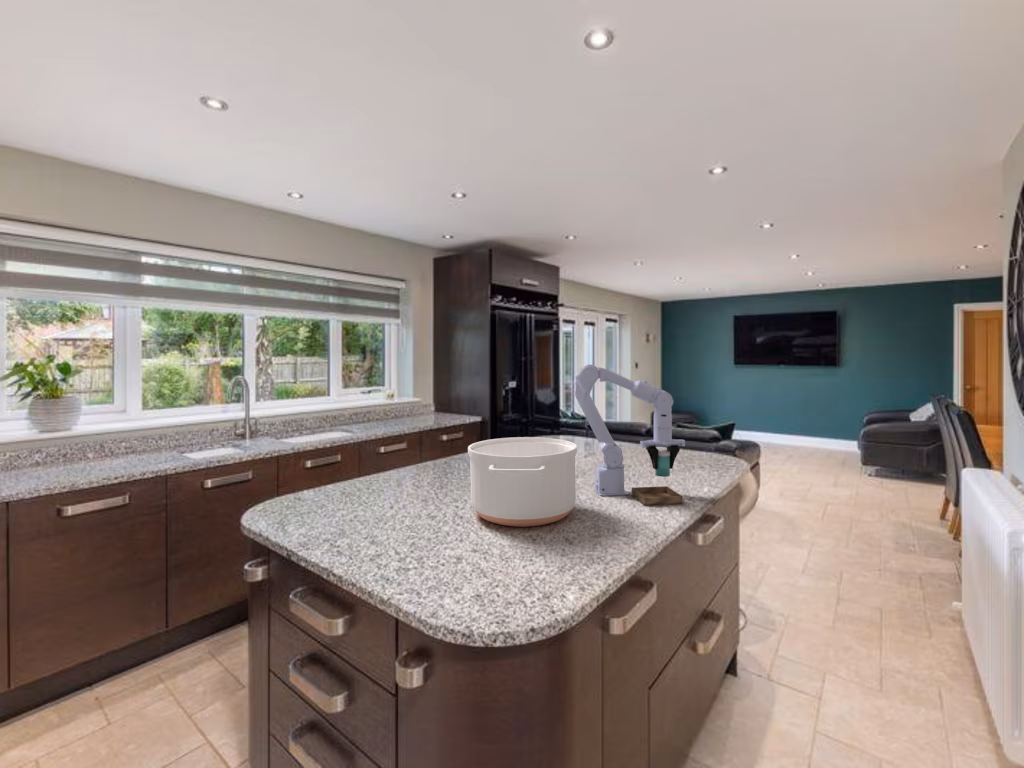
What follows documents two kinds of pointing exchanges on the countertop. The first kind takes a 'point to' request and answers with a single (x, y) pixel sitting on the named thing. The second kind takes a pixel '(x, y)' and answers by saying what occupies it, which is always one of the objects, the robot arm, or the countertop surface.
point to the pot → (522, 480)
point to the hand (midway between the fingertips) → (662, 468)
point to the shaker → (663, 463)
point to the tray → (657, 496)
